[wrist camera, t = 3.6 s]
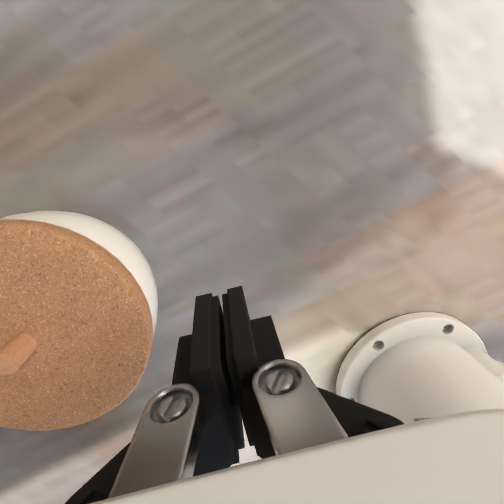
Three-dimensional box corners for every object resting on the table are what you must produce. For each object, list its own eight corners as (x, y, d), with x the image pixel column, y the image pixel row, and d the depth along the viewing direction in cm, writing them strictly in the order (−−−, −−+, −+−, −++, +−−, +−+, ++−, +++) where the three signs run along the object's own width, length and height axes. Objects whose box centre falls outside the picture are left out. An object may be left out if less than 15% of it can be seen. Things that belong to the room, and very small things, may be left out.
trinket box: (-37, 249, 21) (-227, 333, 12) (103, 159, 20) (12, 177, 11) (78, 366, 24) (-2, 497, 15) (201, 294, 23) (192, 390, 14)
